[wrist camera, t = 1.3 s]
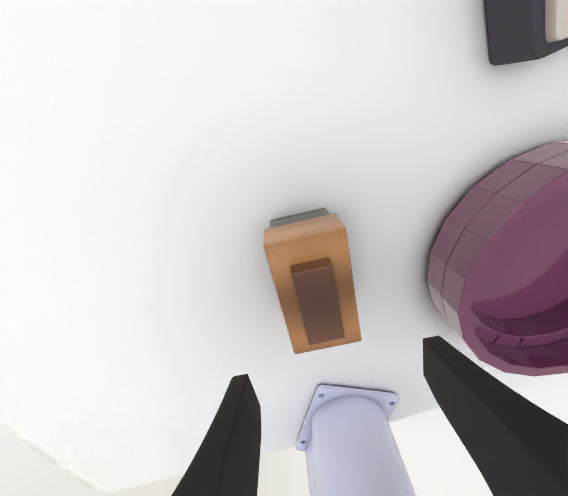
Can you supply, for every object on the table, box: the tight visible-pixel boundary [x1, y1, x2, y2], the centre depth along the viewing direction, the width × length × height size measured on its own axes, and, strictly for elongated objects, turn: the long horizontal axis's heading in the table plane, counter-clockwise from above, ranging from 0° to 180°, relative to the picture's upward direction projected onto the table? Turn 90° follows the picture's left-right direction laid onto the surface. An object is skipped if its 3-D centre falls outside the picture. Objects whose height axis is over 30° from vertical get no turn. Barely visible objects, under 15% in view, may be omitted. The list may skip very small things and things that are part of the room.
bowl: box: [427, 140, 568, 376], centre depth 19 cm, size 16×16×4 cm
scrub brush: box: [264, 208, 361, 354], centre depth 18 cm, size 8×4×6 cm, turn 13°
